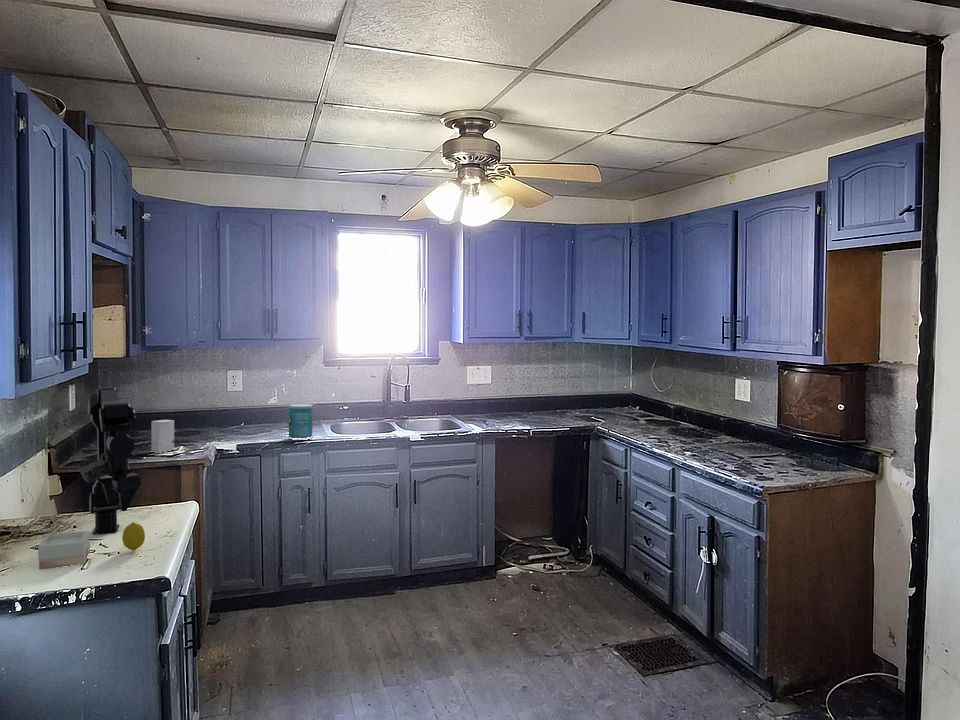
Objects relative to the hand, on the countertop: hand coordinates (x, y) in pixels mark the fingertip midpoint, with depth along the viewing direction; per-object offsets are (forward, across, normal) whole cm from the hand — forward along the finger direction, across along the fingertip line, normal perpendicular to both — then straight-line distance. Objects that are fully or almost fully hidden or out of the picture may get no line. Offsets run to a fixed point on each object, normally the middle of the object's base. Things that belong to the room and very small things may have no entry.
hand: (117, 507), depth 183 cm
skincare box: (+16, -127, +66) cm, 144 cm away
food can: (+16, -114, +132) cm, 175 cm away
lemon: (+14, 0, +4) cm, 14 cm away
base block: (+14, -5, -11) cm, 19 cm away
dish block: (+11, -5, -11) cm, 16 cm away
